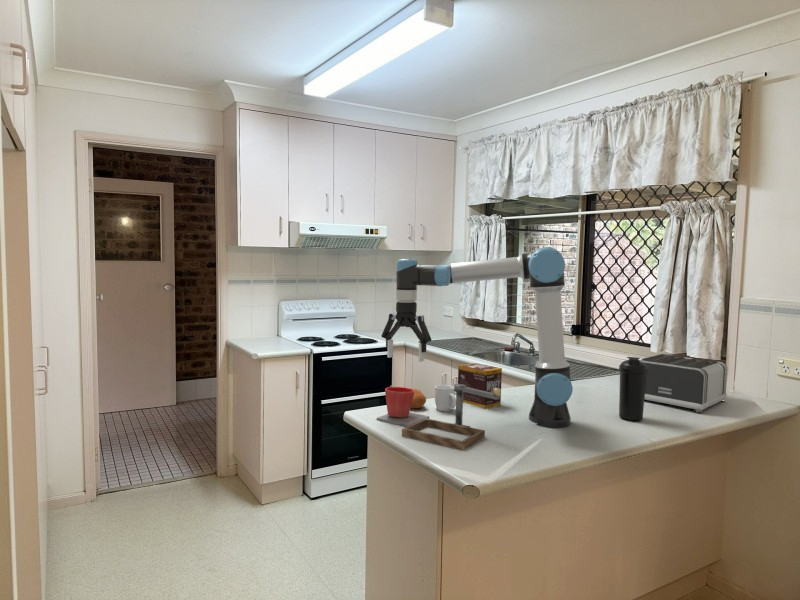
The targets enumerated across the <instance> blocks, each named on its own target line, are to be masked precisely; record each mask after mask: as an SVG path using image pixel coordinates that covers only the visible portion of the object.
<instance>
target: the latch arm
mask: <svg viewBox="0 0 800 600" xmlns="http://www.w3.org/2000/svg"><path fill="white" fill-rule="evenodd" d="M453 386H454V391H455V393H456V392H466V393H471V394H475V395H479V396H483V397H487V398H491V399H495V400H498V399H500V397H501V398H502V388H501V389H500V388H494V390H493V393H490V392H486V391H482V390H477V389H473V388H469V387H466V385H463V384H458V383H456V384H454V385H453Z"/></svg>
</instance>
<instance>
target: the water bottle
mask: <svg viewBox="0 0 800 600" xmlns="http://www.w3.org/2000/svg"><path fill="white" fill-rule="evenodd" d="M626 358H627V359H626V360H624V361H622V362H620V364H619V367H618V371H619V404H618V407H619V408H618V410H619V411H618V416H619V417H620V418H621V419H625V420H629V421H641V420H643V418H644V409H645V399H644V398H645V386H646V374H647V372H648V368H647V366H646V365H645V364H644V363H643V362H641V361H640V360H641V358H640V357H636V356H635V357H634V356H627V357H626Z"/></svg>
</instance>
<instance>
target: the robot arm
mask: <svg viewBox="0 0 800 600" xmlns="http://www.w3.org/2000/svg"><path fill="white" fill-rule="evenodd" d="M565 269H566V261H565V258H564V256H563V255H562V254H561V252H560V251H558V250H557V249H556V248H553V247H547V246H546V247H541V248H538V249H537V250H535V251H531V252H526V253H520V254H519V255H518V256H513V257H504V258H495V259H493V258H492V259H485V260H473V261H463V262H455V263H446V264H445V263H444V264H419V263H418V260H417V259H411V258H409V259H408V258H407V259H406V258H399V259H398V260H397V262H396V271H395V273H396V287H395V288H396V291H395V295H396V296H395V298H396V303H395V311H396V312H395V313H394V312H393V313H389V314H388V320H387V322H386V324H385V326H384V328H383V331H382V333H381V335H380V336H381V338H383V339H385V348H386V349H387V352H386V353H387V354H386V355H387V358H389V359H390V358H393V357H394V339H393V337H394V336H395V334H396V333H397V332H398V330H399V329H400V328H410V329H411V330H412V331H413V333H414V334H415V336H416V338H417V339H418V340H419V342H420V343H418V362H419V363H421V362H424V361H425V353H426V352H427V343H431V342H432V338H431V335H430V331H429V330H428V327H427V325H426V323H425V316H424V315H417V309H418V308H417V305H418V303H417V302H416V301H417V298H418V297H417V296H418V286H428V287H447V286H449V285H450V284H459V283H470V282H471V283H472V282H482V281H491V280H493V281H494V280H505V279H515V278H516V279H517V278H521V279H522V280H529V288H530V289H531V290H532V291H533V292H534V298H535V312H536V313H535V314H536V329H537V330H536V331H537V342H538V359H539V360H537V361H536V362H535V365H534V370H535V378H534V398H533V399H534V400H533V403H532V406H531V408H530V410H529V413H528V420H529V421H530V422H532V423H534V424H536V426H541V427H546V428H566V427H569V426H570V425H571V414H570V411H569V407H568V403H567V402H568V401H569V399H570V398H571V396H572V394H573V391H574V390H573V388H574V387H573V385H572V384H573V383H572V382H571V381H572V379H571V365H570V363H569V362H568V361H566V359H565V357H566V356H565V344H564V343H565V341H564V326H563V309H562V293H561V291H562V290H563V288H565V286H566V284H565V283H566V281H565ZM395 320H396V322H395ZM394 322H395V323H394ZM393 325H394V326H393ZM418 326H419V327H418Z"/></svg>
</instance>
